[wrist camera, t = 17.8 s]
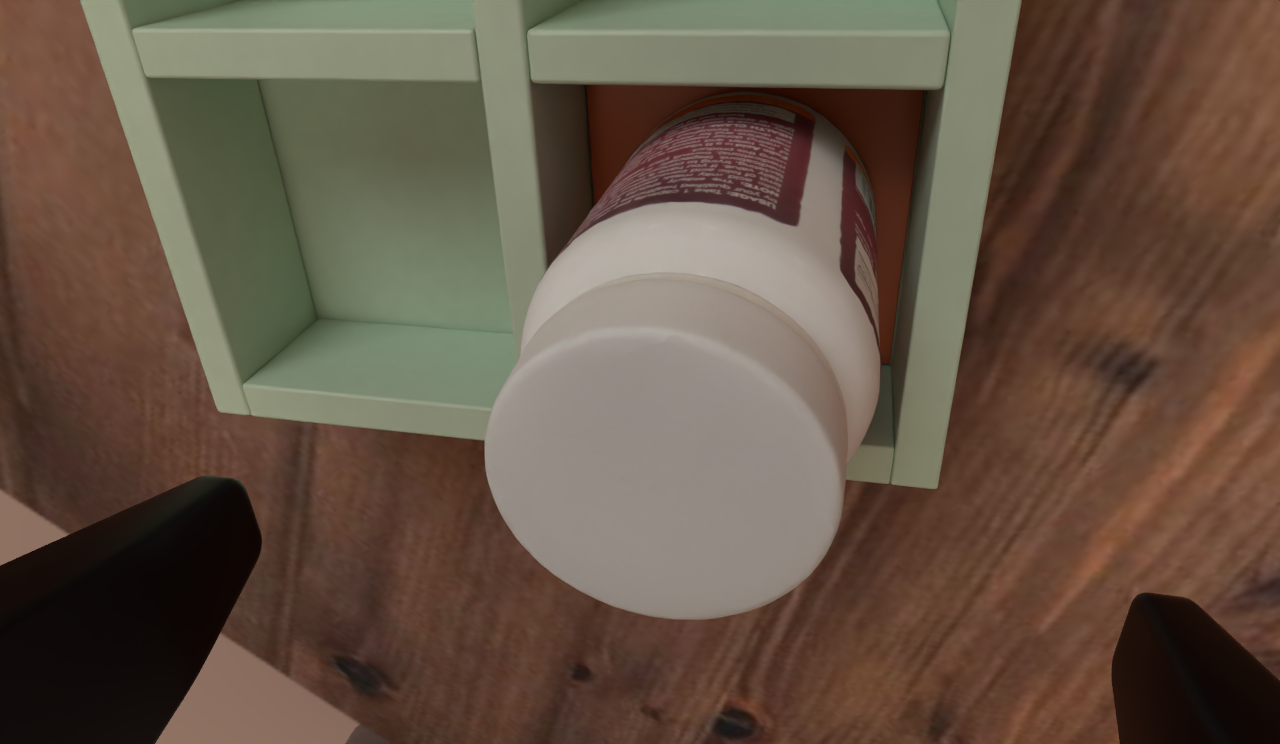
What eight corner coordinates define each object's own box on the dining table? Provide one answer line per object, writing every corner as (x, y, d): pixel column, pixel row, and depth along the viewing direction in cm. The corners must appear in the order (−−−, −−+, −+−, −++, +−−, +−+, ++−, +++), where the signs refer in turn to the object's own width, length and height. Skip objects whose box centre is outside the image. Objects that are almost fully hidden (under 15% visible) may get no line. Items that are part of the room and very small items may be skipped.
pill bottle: (578, 233, 17) (381, 495, 10) (721, 29, 15) (587, 194, 8) (767, 371, 18) (700, 704, 11) (935, 197, 16) (985, 488, 9)
